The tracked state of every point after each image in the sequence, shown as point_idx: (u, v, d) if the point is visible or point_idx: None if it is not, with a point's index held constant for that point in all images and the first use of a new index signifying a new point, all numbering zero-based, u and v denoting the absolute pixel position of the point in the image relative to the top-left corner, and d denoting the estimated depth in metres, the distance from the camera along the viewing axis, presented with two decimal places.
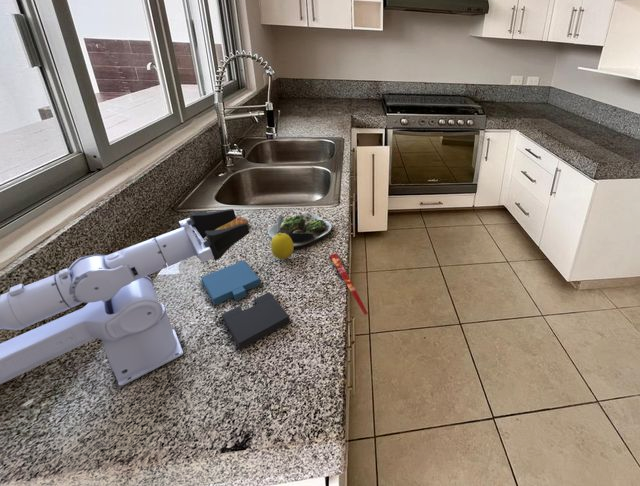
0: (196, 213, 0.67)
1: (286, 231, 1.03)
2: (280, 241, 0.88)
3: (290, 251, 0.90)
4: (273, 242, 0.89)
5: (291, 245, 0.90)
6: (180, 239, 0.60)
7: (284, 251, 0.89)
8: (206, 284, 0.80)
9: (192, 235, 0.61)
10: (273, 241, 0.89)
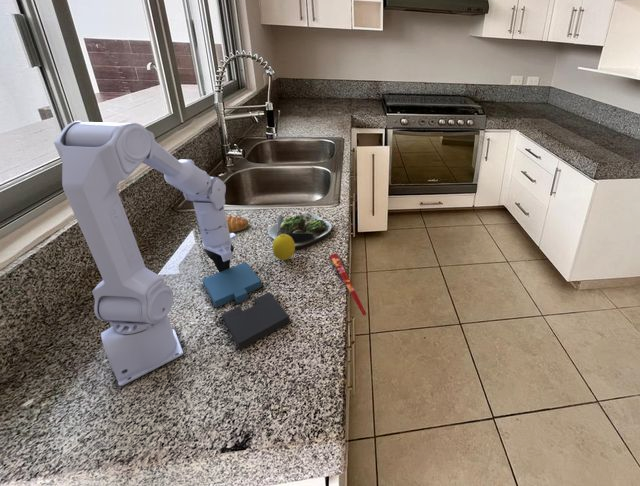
0: None
1: (286, 231, 1.03)
2: (283, 243, 0.88)
3: (291, 253, 0.90)
4: (275, 243, 0.88)
5: (293, 247, 0.90)
6: (227, 235, 0.82)
7: (285, 253, 0.89)
8: (207, 286, 0.80)
9: None
10: (275, 242, 0.88)
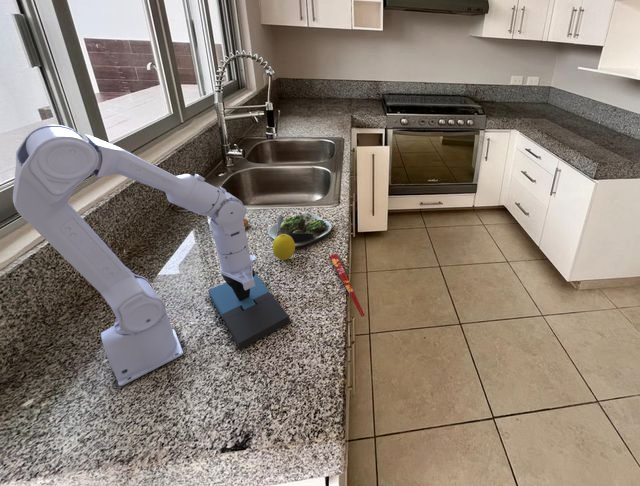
0: None
1: (286, 231, 1.03)
2: (283, 243, 0.88)
3: (291, 253, 0.90)
4: (275, 243, 0.88)
5: (293, 247, 0.90)
6: (248, 259, 0.73)
7: (285, 253, 0.89)
8: (214, 297, 0.76)
9: (252, 267, 0.73)
10: (275, 242, 0.88)
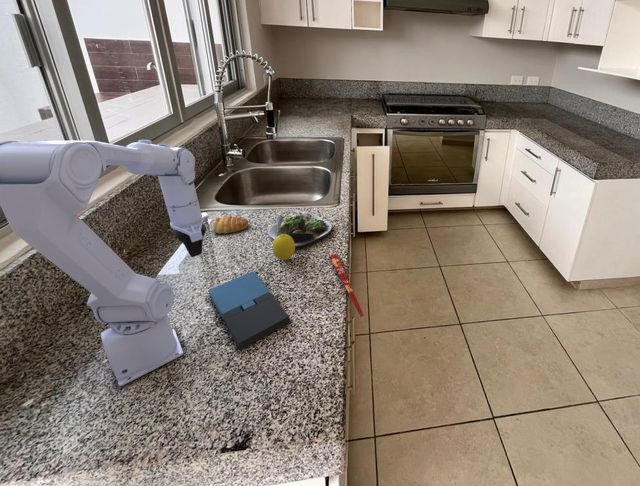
0: None
1: (286, 231, 1.03)
2: (283, 243, 0.88)
3: (291, 253, 0.90)
4: (275, 243, 0.88)
5: (293, 247, 0.90)
6: (198, 214, 0.74)
7: (285, 253, 0.89)
8: (214, 297, 0.76)
9: (202, 222, 0.75)
10: (275, 242, 0.88)
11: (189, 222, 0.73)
